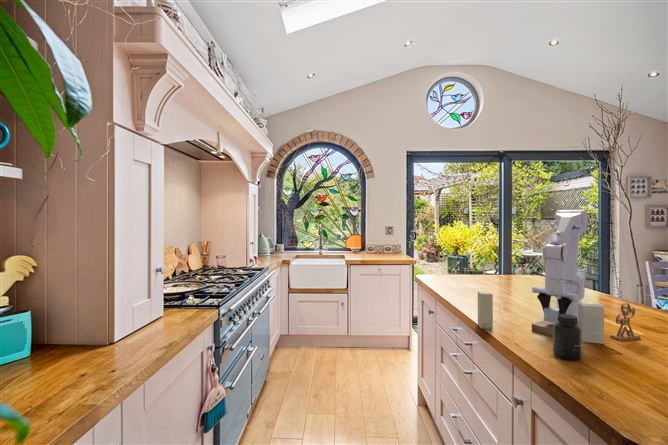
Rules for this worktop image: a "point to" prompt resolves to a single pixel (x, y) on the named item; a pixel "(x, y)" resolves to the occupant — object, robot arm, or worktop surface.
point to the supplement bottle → (567, 338)
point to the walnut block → (543, 327)
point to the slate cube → (551, 314)
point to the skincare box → (591, 322)
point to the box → (485, 310)
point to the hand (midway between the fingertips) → (554, 316)
